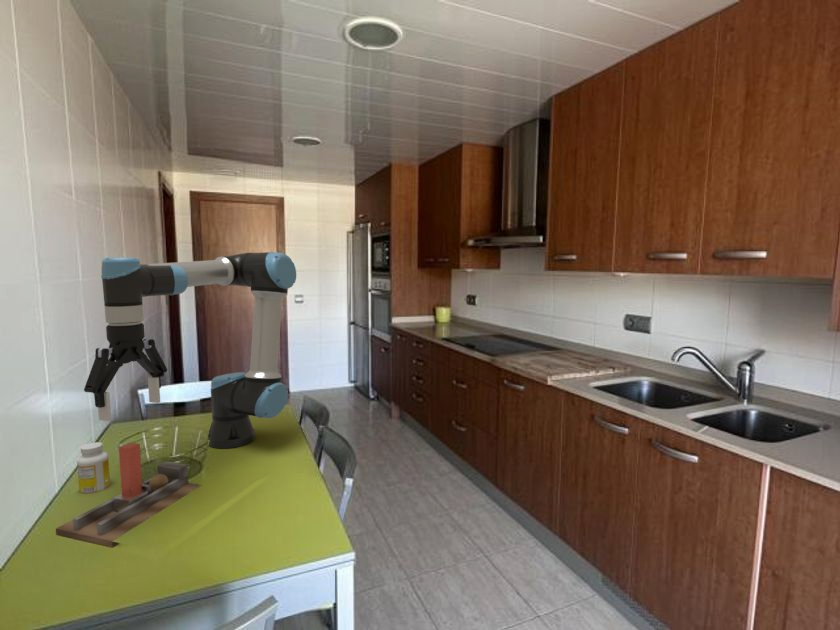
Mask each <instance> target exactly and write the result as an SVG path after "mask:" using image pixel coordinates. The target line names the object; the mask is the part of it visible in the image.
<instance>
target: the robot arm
mask: <svg viewBox="0 0 840 630" xmlns="http://www.w3.org/2000/svg"><path fill="white" fill-rule="evenodd" d="M296 279H297V268H296V266H295V262H293V260H292V259H291V257H290V256H288V255H287V254H285V253H284V252H273V251H271V252H245V253H244V252H243V253H238V254H233V255H225V256H218V257H216V258H215V259H211V260H209V259H208V260H195V261H194V260H193V261H179V262H177V261H175V262H160V263H159V262H158V263H145V264H141V262H140V259H139V258H137V257H104V258H103V259H102V261H101V280H102V281H101V283H102V291H103V302H104V316H105V319H104V320H105V323H107V326H106V327H105V331H106V339H107V341H108V343H109V346H108V347H107V348H104V347H98V348H96V349H95V354H94V355H95V356H94V357H95V358H94V362H93V364H92V366H91V368H90V369H91V370H90V371H89V375H88V377H87V380H86V382H85V386H84V389H83V391H84V392H85V393H91V394H93V396H94V405H95V408H97V409H98V411H97V412H98V420H99V421H104V422H110V421H112V411H111V409H112V407H111V399H110V392H109V391H107V390H108V388H109V386H110V384H111V383H112V381H113V380H114V378H115V375H116V374H117V373H118V371H119V370H120V368H121V367H123V366H124V364H129V363H133V362H137V363H138V365H140V367H142V368H143V369H144V370H145V371H146V372H147V373H148V374H149V375H150V376H149V377H148V376H147V385H148V386H147V387H148V401H149V403H151V404H152V403H154V404H160V403H161V393H160V391H161V390H160V389H161V388H162V381H161V380H162V379H161V378H162V377H164V376H165V373H167V371H168V367H167V366H166V365H165V361H164V360H163V359H162V357H161V354H160V353H159V351H158V348H157V347H156V342H155V339H153V338H152V339H150V338H145V337H146V336H145V335H146V334H145V324H144V323H142V322H143V321H144V320H145V319H144V308H143V304H144V303H143V297H157V296H158V297H159V296H160V297H161V296H174V295H179V294H182V293H184V292H185V291H186V290H187V288H189V287H199V286H201V287H202V286H207V285H219V286H222V287H225V286H226V287H229V286H236V287H237V286H238V287H247V288H250V293H251V294H252V295H253V296H254V308H253V319H252V320H253V322H252V333H251V334H252V335H251V350H250V361H249V362H250V363H249V370H248V371H247V372H244V371H242V372H241V371H239V372H238V371H237V372H231V373H225V374H221V375H217V376H214V377H213V378H212V379H211V382H210V398H211V399H210V400H211V419H212V420H211V425H210V427H209V431H208V433H207V438H206V440H210V442H209V445H208V446H209V447H211V448H214V449H232V448H238V447H242V446H246V445H247V444H250V443H252V442H253V441H254V440H255V438H256V431H255V428H254V427H253V423H252V421H251V418H250V416H252V417H257V418H260V419H262V418H264V419H265V418H266V419H271V418H276V417H277V416H278V415H279V414H280V413H281V412H282V410H284V408H285V406H286V404H287V402H288V399H289V398H288V397H289V391H288V388H287V385H285V384H284V383H282V374H281V373H280V372H278V367H279V366H278V365H279V364H278V363H279V347H280V338H281V337H280V335H281V323H282V307H283V299H284V298H286V297H287V296H288V293H289V292H288V290H289V289H290V288H292V287H293V286H294V284H295V283H296ZM143 350H144V351H143Z"/></svg>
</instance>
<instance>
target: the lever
mask: <svg viewBox="0 0 840 630" xmlns="http://www.w3.org/2000/svg"><path fill="white" fill-rule="evenodd" d="M118 456H119V469H120V470H119V472H120V475H119V476H120V488H121V489H120V490H121V493H120V494H118V495H115V496H114V497H112V498H113V510H117V511H121V510H122V509H124V508H126V507H128V506H129V505H131V504H133V503H135V502H137V501H138V500H140V499H142V498H144V497H145V496H147V495H149V494H151V485H147V484H142V482H143V479H142V476H143V474H142V460H141V458H142V457H141V443H136V442H135V443H134V442H128V443H126V444H123V445H121V446H118Z"/></svg>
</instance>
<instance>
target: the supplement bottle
mask: <svg viewBox="0 0 840 630" xmlns="http://www.w3.org/2000/svg"><path fill="white" fill-rule="evenodd" d="M103 449H104V445H103V442H99V441H96V442H89V443H86V444H83V445H81V447H80V453H81V456H79V457H78V458H77V460H76V467H77V479H78V491H79V493H80V494H81V493H82V494H92V493H97V492H101V491H103V490H105V489H107V488H109V487H110V485H111V478H110V464H109V454H108V453H107V452H106V451H104V450H103Z"/></svg>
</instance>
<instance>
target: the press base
mask: <svg viewBox="0 0 840 630" xmlns="http://www.w3.org/2000/svg"><path fill="white" fill-rule="evenodd" d="M156 471H157V473H156V475H158V474H163V475H165V476H167V478H168V480H169V483H168V484H167V485H165V486H163V487H161V488H160V489H158V490H156V491H154V492H153V491H152V490H151V494H149V495H147V496H145V497H144V498H142V499H140V500H138V501H137V502H135V503H133V504H131V505H129V506H128V507H126V508H124V509H122V510H121V511H117V510H113V497H112V498H110V499H108V500H106V501H104V502H102V503H101V504H99V505H97V506H95V507H93V508H92V509H89V510H87V511H85V512H84V513H82V514H80V515H78V516H77V517H74V518H72V519H71V520H69V521H68V522H65V523H64V524H61V525H60V526H58V527H56V528H55V536H60V537H63V538H67V539H72V540H77V541H79V542H80V541H81V542H86V543H89V544H94V545H98V546H103V547H106V548H107V547H108V548H111V549H112V548H114V547H116V546H118V545H119V544H120V542H116V541H115V540H117V539H118V538H120V537H122V536H124V534H126V533H128V532H129V531H131V530H132V529H134V528H136V527H137V526H139V525H140V524H143V523H144V522H146V520H149V519H150V518H152V517H153V516H155V515H157V514H158V513H160V512H162V511H163V510H165V509H166V508H168V507H169V506H171V505H172V504H174V503H176V502H177V501H179V500H181V499H182V498H184V497H186V496H187V495H190V493H192V492H194V491H195V490H196V489H198V488H200V487H202V484H198V483H192V482H189V475H188V474H189V473H188V472H189V470H188V464H186V463H185V464H183V463H178V462H171V461H165V462H163V463H161V464H159V465H157V466H156ZM151 478H152V477H150V478H147V479H146V480H144V481H142V484H147V485H149V482H150V480H151Z"/></svg>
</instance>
